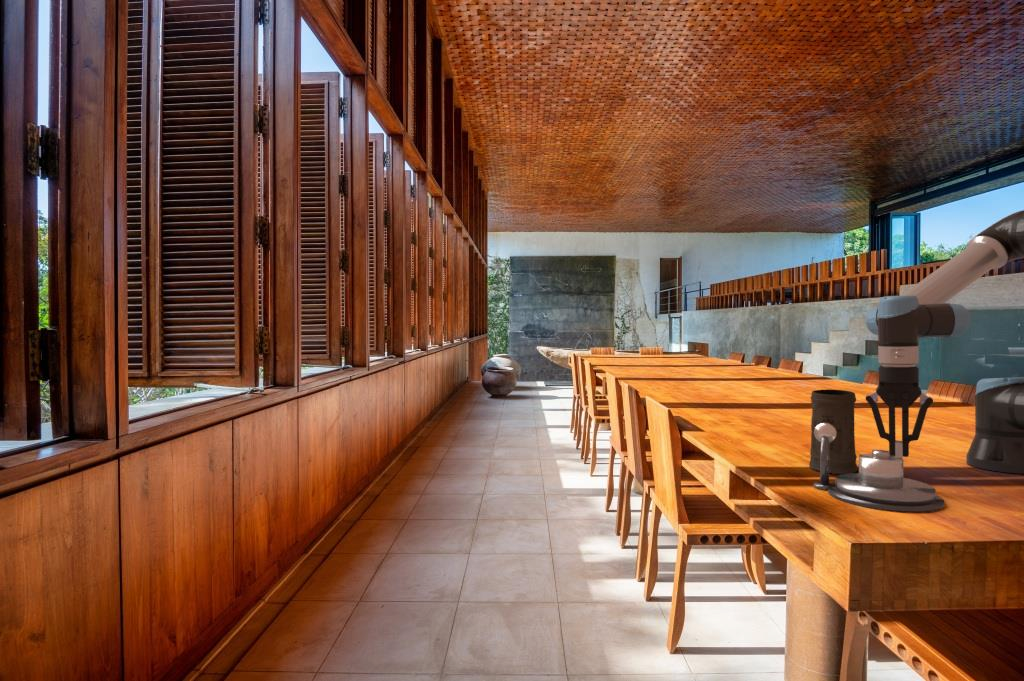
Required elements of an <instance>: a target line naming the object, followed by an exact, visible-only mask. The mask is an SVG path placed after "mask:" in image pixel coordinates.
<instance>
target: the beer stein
mask: <svg viewBox="0 0 1024 681" xmlns="http://www.w3.org/2000/svg"><path fill="white" fill-rule="evenodd" d="M810 401H811V410H812V411H811V413H812V414H811V418H810V421H811V422H810V430H811V432H810V434H811V436H810V451H809V454H810V460H809V464H808V466H809V468H810V469H812V470H813V471H816V470H817V472H820V447H821V442H820V441H818V440H817V439H816V437H815V435H814V429H815V427H816V426H817V425H819V424H821V423H829V424H831V425H833V426H834V428H835V429H836V432H837V435H836V438H835V439H834V440H833V441H832V442H830V452H829V473H832V474H831V475H843V474H852V473H856V472H857V471H858V464H857V459H858V457H857V456H858V455H857V453H856V438H855V403H856V402H857V398H856V393H855V392H854V391H852V390H846V389H845V390H843V389H831V388H830V389H829V388H828V389H817V390H812V391H811V396H810Z"/></svg>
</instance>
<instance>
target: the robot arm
mask: <svg viewBox="0 0 1024 681" xmlns="http://www.w3.org/2000/svg"><path fill="white" fill-rule="evenodd" d="M966 246H967V247H966V248H964V249H963V250H961V251H960V252H959V253H958V254H956V255H955V256H953V257H952V258H951V259H950V260H948V261H946V262H945V263H944V264H943V265H941V266H940V267H938V268H937V269H935V270H934V271H933V272H931V273H930V274H928V275H927V276H925V278H923V279H921V280H920V281H919V282H918V283H916V284H914V285H913V286H912V287H911V288H909V289H908V290H907V291H905V292H904V293H903V294H901V295H887V296H882V297H881V298H879V300H878V305H877V306H874V307H873V308H870V309H869V311H868V312H867V314H866V315H865V325H866V328H867V329H868V331H869V332H870V333H871V334H873V335H876V336H877V337H878V338H877V339H878V346H877V348H878V349H877V350H878V353H877V354H878V355H877V356H878V363H879V364H880V365H879V367H878V368H877V369H878V385H877V387H876V389H875V391H874V392H872V393H871V394H867V395H865V401H866V402H867V403H868V405H869V406H870V408H871V411H872V415H873V419H874V422H875V425H876V429H877V431H878V434H879V438H881V439H885V440H887V441H888V448H889V449H888V451H889V452H890V456H895V457H899V458H902V459H903V460H904V458H908V457H909V454H910V451H909V450H910V449H909V448H910V447H909V446H910V445H909V444H910V442H915V441H918V440H919V438H920V434H921V431H922V429H923V425H924V422H925V417H926V415H927V411H928V409H929V407H930V406H931V405H932V404H933V403H934V399H933V397H931V396H928V395H926V394H924V393H923V392H922V389H921V388H920V385H919V382H920V381H919V380H920V379H919V376H920V375H919V372H920V371H919V367H918V366H916V365H917V364H919V361H920V360H919V359H920V358H919V357H920V356H919V339H920V338H921V339H922V338H951V337H959V336H962V335H963V334H964V333H966V331H967V330H968V329H969V326H970V324H971V322H970V321H971V319H970V318H971V317H970V313H969V311H968V310H967V308H966V307H965V306H963V305H961V304H960V303H959V304H958V303H950V302H948V301H950V300H951V299H952V298H954V297H955V296H956V295H958V294H960V293H961V292H962V291H963V290H965V289H966V288H967V287H969V286H970V285H971V284H973V283H974V282H975V281H977V280H978V279H980V278H981V277H982V276H984V275H985V274H987V273H989V272H990V271H991V270H997V269H1000V268H1003V267H1004V266H1005V265H1006V264H1008V263H1010V262H1013V261H1015V260H1020V259H1024V209H1022V210H1019V211H1016V212H1013V213H1011V214H1009V215H1007V216H1005V217H1003V218H1001V219H1000V220H998V221H996V222H995V223H992V224H991V225H990V226H988V227H987V228H985V229H983V230H982V231H980V232H979V233H978V234H977V235H975V236H974V237H972V238H971V239H970V240H969V241H968V243H967V245H966ZM974 397H975V400H974V401H975V403H974V404H975V405H974V406H975V407H974V409H975V411H974V412H975V413H974V414H975V418H974V419H975V420H974V421H975V423H974V424H975V425H974V426H975V427H974V428H975V431H974V432H975V434H974V437H973V439H972V442H971V443H970V446H969V449H968V450H967V451H968V452H967V453H966V460H965V461H966V463H965V464H967V465H969V466H970V467H974V468H977V469H982V470H986V471H987V470H988V471H993V472H1002V473H1007V474H1008V473H1009V474H1010V473H1011V474H1019V475H1021V474H1023V475H1024V376H1017V377H993V378H992V377H991V378H988V377H987V378H981V379H980V380H978V381H977V383H976V389H975V393H974ZM879 398H880V399H881V400H882V401H883V403H884V404H885V405H887V407H888V432H886V429H885V425H884V423H883V419H882V416H881V415H882V414H881V412H880V409H879V407H878V402H879ZM918 398H919V404H920V406H919V410H918V412H917V416H916V420H915V423H914V425H913V430H912V433H911V434H909V433H910V431H909V429H910V426H909V423H910V420H909V418H910V417H909V415H910V414H909V413H910V411H909V410H910V409H909V408H910V407H911V406H912V405H913V404H914V403H915V402H916V401H917V400H918ZM898 407H899V408H901V440H896V408H898Z"/></svg>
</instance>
